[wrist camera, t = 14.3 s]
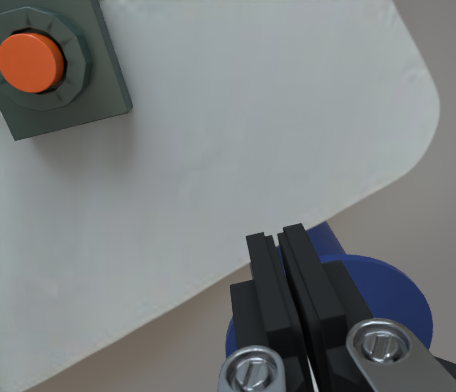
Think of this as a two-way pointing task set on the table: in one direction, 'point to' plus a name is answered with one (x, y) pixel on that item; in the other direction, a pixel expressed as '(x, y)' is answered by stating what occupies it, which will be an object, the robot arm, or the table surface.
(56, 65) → the button
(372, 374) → the robot arm
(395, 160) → the table surface
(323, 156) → the table surface
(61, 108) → the box
